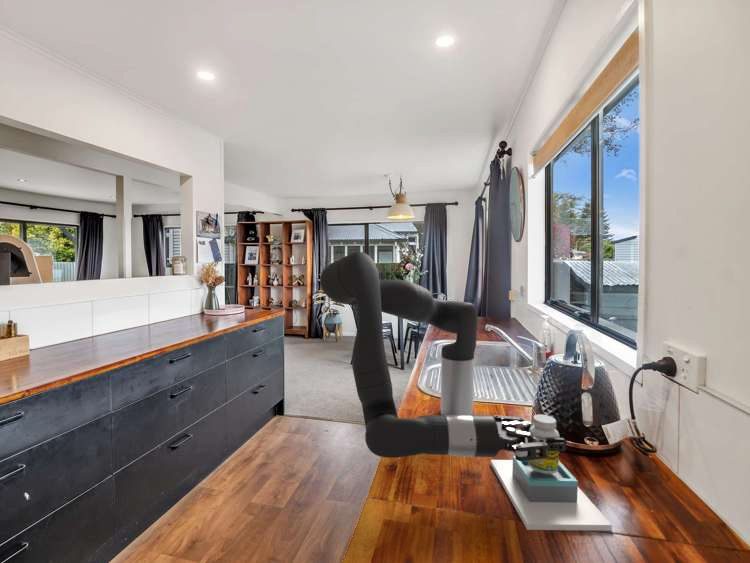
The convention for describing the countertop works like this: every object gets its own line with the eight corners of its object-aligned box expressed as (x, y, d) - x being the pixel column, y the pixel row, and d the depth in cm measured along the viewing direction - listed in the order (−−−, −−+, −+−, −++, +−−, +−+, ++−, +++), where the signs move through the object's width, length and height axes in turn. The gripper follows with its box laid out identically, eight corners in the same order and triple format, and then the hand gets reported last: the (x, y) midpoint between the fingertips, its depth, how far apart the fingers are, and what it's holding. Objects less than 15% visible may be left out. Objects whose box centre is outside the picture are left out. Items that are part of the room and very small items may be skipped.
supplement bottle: (538, 456, 75) (540, 410, 74) (564, 469, 70) (566, 420, 70) (521, 464, 72) (523, 416, 71) (547, 478, 67) (550, 427, 67)
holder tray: (490, 464, 81) (491, 442, 81) (554, 464, 81) (554, 442, 81) (527, 529, 61) (527, 500, 61) (611, 530, 61) (612, 501, 61)
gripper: (480, 433, 63) (578, 435, 63) (461, 401, 78) (541, 403, 78) (478, 475, 64) (577, 477, 64) (460, 436, 78) (540, 438, 78)
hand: (557, 436), depth 71 cm, fingers closed on supplement bottle, 5 cm apart
